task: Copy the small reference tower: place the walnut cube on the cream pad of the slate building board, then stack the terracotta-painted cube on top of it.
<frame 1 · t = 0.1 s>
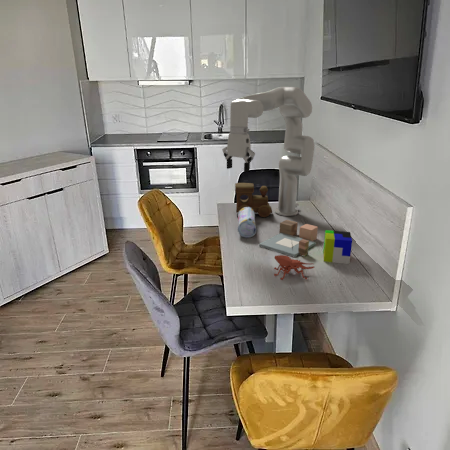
hand: (237, 169, 178), 31 cm above the table, tool pointing down, fingers open, 9 cm apart
wooden toy train: (252, 215, 218), on the table
reference tower: (302, 254, 168), on the table
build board: (287, 245, 177), on the table
beetle: (293, 273, 152), on the table
puzzle toy: (335, 258, 166), on the table
walnut block: (288, 234, 190), on the table
terracotta block: (307, 239, 185), on the table
pencil case: (246, 231, 195), on the table
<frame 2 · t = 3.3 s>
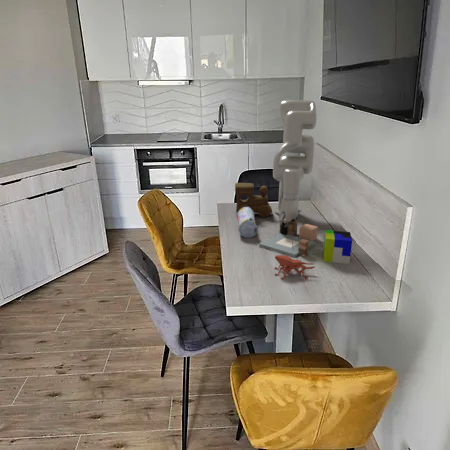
hand: (288, 231, 189), 1 cm above the table, tool pointing down, fingers open, 7 cm apart
nothing on the table moved.
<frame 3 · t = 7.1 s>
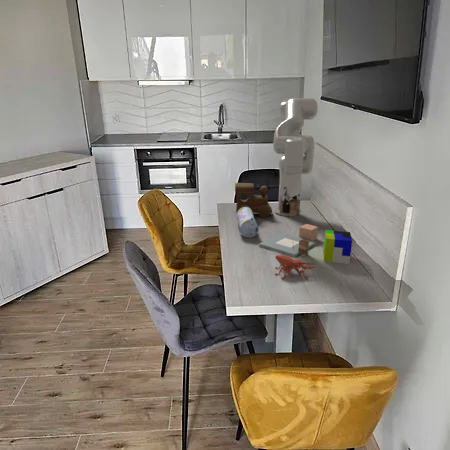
hand: (289, 210, 172), 16 cm above the table, tool pointing down, fingers closed on walnut block, 6 cm apart
walnut block: (289, 213, 172), point 15 cm above the table, touching gripper
everything else where it was.
when the fingers open (3 cm above the table, at t = 9.7 s): walnut block stays where it is, resting on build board.
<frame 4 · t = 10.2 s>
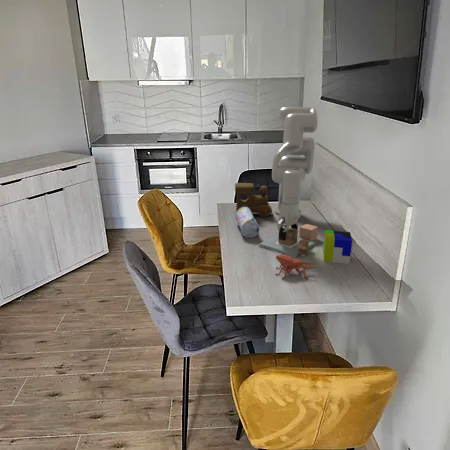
hand: (288, 236, 176), 4 cm above the table, tool pointing down, fingers open, 9 cm apart
walnut block: (287, 242, 177), point 1 cm above the table, touching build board
everything else where it was.
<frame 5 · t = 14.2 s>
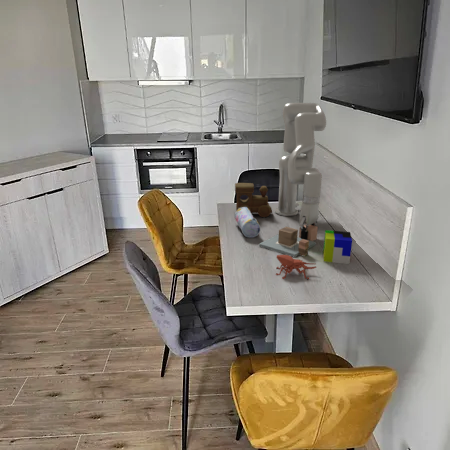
hand: (307, 236, 184), 1 cm above the table, tool pointing down, fingers open, 6 cm apart
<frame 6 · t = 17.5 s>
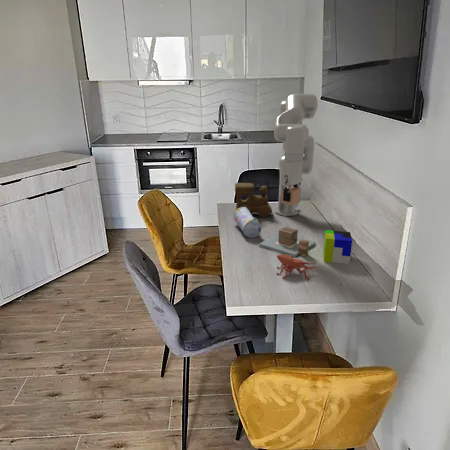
hand: (290, 199, 170), 21 cm above the table, tool pointing down, fingers closed on terracotta block, 6 cm apart
terracotta block: (290, 202, 170), point 20 cm above the table, touching gripper
when the fingers open (9 cm above the table, at t = 20.6 s): terracotta block stays where it is, resting on walnut block.
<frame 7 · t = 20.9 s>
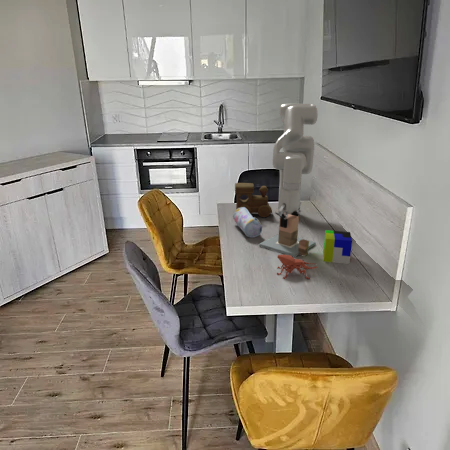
hand: (288, 224, 174), 10 cm above the table, tool pointing down, fingers open, 8 cm apart
walnut block: (287, 242, 177), point 1 cm above the table, touching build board, terracotta block
terracotta block: (288, 229, 175), point 7 cm above the table, touching walnut block
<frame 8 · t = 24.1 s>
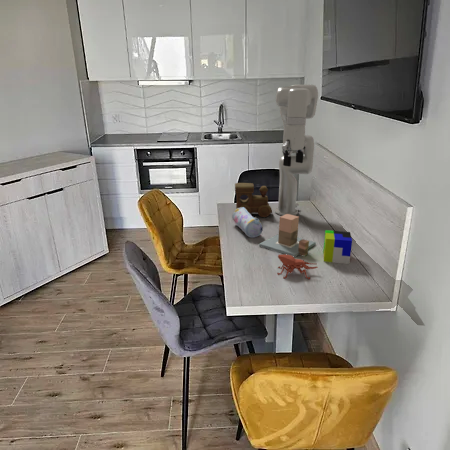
hand: (293, 164, 165), 36 cm above the table, tool pointing down, fingers open, 9 cm apart
at the end: walnut block inside the target area on the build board (0.1 cm from its centre), point 1.3 cm above the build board's base; terracotta block 0.1 cm off-centre on the walnut block, point 6.0 cm above the walnut block's base; terracotta block tilted 0° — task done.
